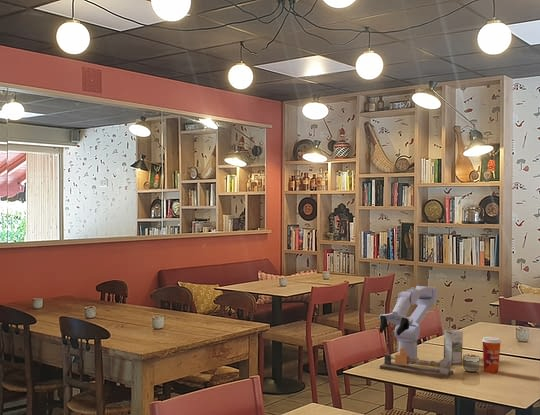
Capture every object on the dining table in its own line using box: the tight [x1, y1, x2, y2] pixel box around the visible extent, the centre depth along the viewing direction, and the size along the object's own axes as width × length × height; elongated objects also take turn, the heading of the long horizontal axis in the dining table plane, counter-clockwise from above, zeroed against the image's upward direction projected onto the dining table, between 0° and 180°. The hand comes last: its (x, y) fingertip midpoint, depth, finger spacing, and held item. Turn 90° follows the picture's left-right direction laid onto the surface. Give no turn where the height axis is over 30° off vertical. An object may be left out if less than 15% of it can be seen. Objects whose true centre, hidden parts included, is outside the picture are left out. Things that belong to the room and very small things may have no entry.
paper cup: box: [481, 336, 502, 374], centre depth 270 cm, size 8×8×14 cm
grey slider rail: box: [379, 353, 454, 380], centre depth 269 cm, size 10×28×6 cm, turn 58°
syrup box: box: [443, 328, 464, 365], centre depth 286 cm, size 6×6×14 cm
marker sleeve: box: [394, 348, 411, 365], centre depth 272 cm, size 4×5×6 cm
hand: (389, 332), depth 271 cm, fingers open, 7 cm apart
